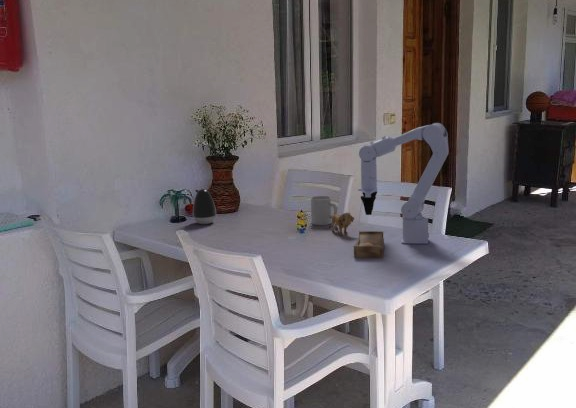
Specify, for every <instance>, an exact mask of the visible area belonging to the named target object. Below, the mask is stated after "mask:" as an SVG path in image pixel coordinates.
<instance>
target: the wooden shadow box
mask: <svg viewBox="0 0 576 408" xmlns="http://www.w3.org/2000/svg"><path fill="white" fill-rule="evenodd" d="M358 232H359V233H358V234H359V235H358V237H357V238H356V242H355V245H354V244H353V258H360V259H361V258H363V259H364V258H365V259H366V258H367V259H370V258H373V259H378V258H379V259H383V256H384V248H385V238H384V231H378V230H377V231H376V230H375V231H374V230H373V231H372V230H371V231H370V230H369V231H368V230H366V231H363V230H362V231H361V230H360V231H358ZM365 243H371V244H372V245H373V246H363V245H364V244H365Z"/></svg>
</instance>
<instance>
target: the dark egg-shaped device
mask: <svg viewBox="0 0 576 408" xmlns="http://www.w3.org/2000/svg"><path fill="white" fill-rule="evenodd" d="M195 192H196V194H195V198H194V200H193V206H192V217H193V219H194V221H195V222H196V223H197V224H199V225H210V224H211V223H212V224H213V222H214V221H215V219H216V216H217V209H216V205H215V202H214V200H213V197H212V195H211V193H210V192H209V190H207V189H205V188H201V189H195Z"/></svg>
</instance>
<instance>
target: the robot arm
mask: <svg viewBox="0 0 576 408" xmlns="http://www.w3.org/2000/svg"><path fill="white" fill-rule="evenodd" d="M448 136H449V134H448V131H447V129H446V128H445V126H444V125H443V124H442V123H440V122H433V123H432V124H428V125H423V126H419V127H416V128H414V129H412V130H409V131H407V132H404V133H402V134H400V135H398V136H395V137H392V136H390V135H389V136H386V135H384V136H382V137H381V139H379V140H376V141H371V142H370V143H369V144H367V145H363V146H362V147H361V148H360V149H359V151H358V156H359V158H360V163H361V164H360V176H361V178H360V180H361V181H360V185H361V187H359V188H358V189H357V191H359V192H361V193H362V195H360V200H361V201H362V204H363V207H364V213H365V215H366V216H372V214H373V210H374V205H375V200H376V198H377V194H378V185H377V184H378V183H377V182H378V180H377V179H378V178H377V158H379V157H382V156H385V155H388V154H389V153H393V152H395V150H396V148H397V147H398V146H401V145H403V144H405V143H408V142H411V141H414V140H418V141H423V140H424V141H425V143H427V144H428V145H429V147H430V149H431V151H432V155H431V157H430V159H429V161H428V163H427V165H426V167H425V168H424V171H423V173H422V175H421V177H420V178H419V180H418V182H417V184H416V186H415V188H414V190H413V192H412V193H411V195H410V196H409V198H408V200H407V201H406V202H404V203H403V204H402V206H401V208H400V211H401V215H402V236H401V244H413V245H414V244H415V245H417V244H418V245H419V244H420V245H421V244H422V245H424V244H426V245H427V244H429V238H430V233H429V218H428V217H424V216H423V214H422V212H423V210H424V209H425V208H424V205H425V201H426V200H427V199H426V198H427V195H428V193H429V192H430V190H431V187H433V184H434V182H435V180H436V178H437V176H438V174H439V173H440V170H441V169H442V167H443V165H444V163H445V161H446V159H447V157H448V156H449V152H450V151H449V148H450V147H449V137H448Z"/></svg>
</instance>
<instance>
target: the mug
mask: <svg viewBox="0 0 576 408" xmlns="http://www.w3.org/2000/svg"><path fill="white" fill-rule="evenodd" d="M332 207H333V211H334V213H333V214H332ZM310 208H311V209H310V210H311V215H310V216H311V224H312V225H314V226H328V225H330V224H331V225H332V217H333V215H335V214H336V215H338V207H337V205H336V203H334V202H332V197H331V196H330V195H329V196H328V195H318V196H317V195H316V196H312V197H311V198H310Z"/></svg>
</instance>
